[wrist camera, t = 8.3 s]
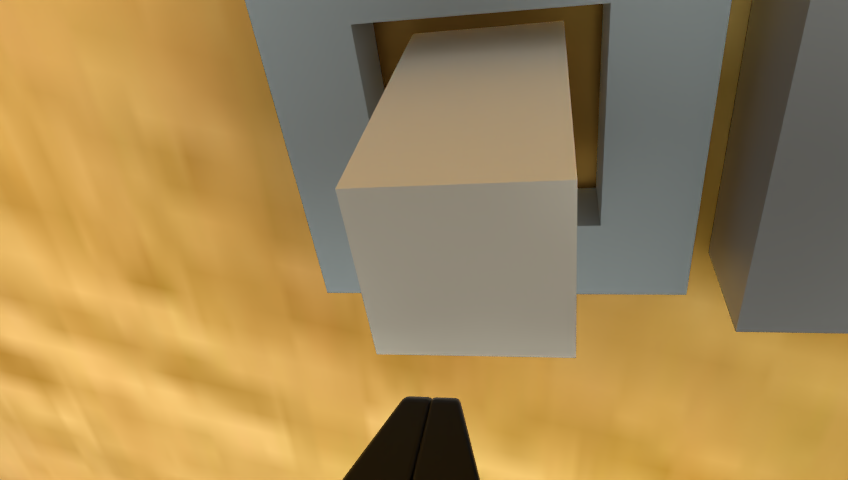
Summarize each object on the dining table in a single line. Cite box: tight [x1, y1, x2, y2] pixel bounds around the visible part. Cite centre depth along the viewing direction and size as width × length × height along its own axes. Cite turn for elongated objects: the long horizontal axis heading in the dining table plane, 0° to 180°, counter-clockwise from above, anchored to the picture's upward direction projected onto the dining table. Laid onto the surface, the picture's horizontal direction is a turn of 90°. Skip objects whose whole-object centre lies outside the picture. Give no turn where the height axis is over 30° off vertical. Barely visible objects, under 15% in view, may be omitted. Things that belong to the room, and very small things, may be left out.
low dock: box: [245, 0, 732, 295], centre depth 17 cm, size 11×11×2 cm
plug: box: [335, 21, 577, 358], centre depth 15 cm, size 4×4×8 cm
